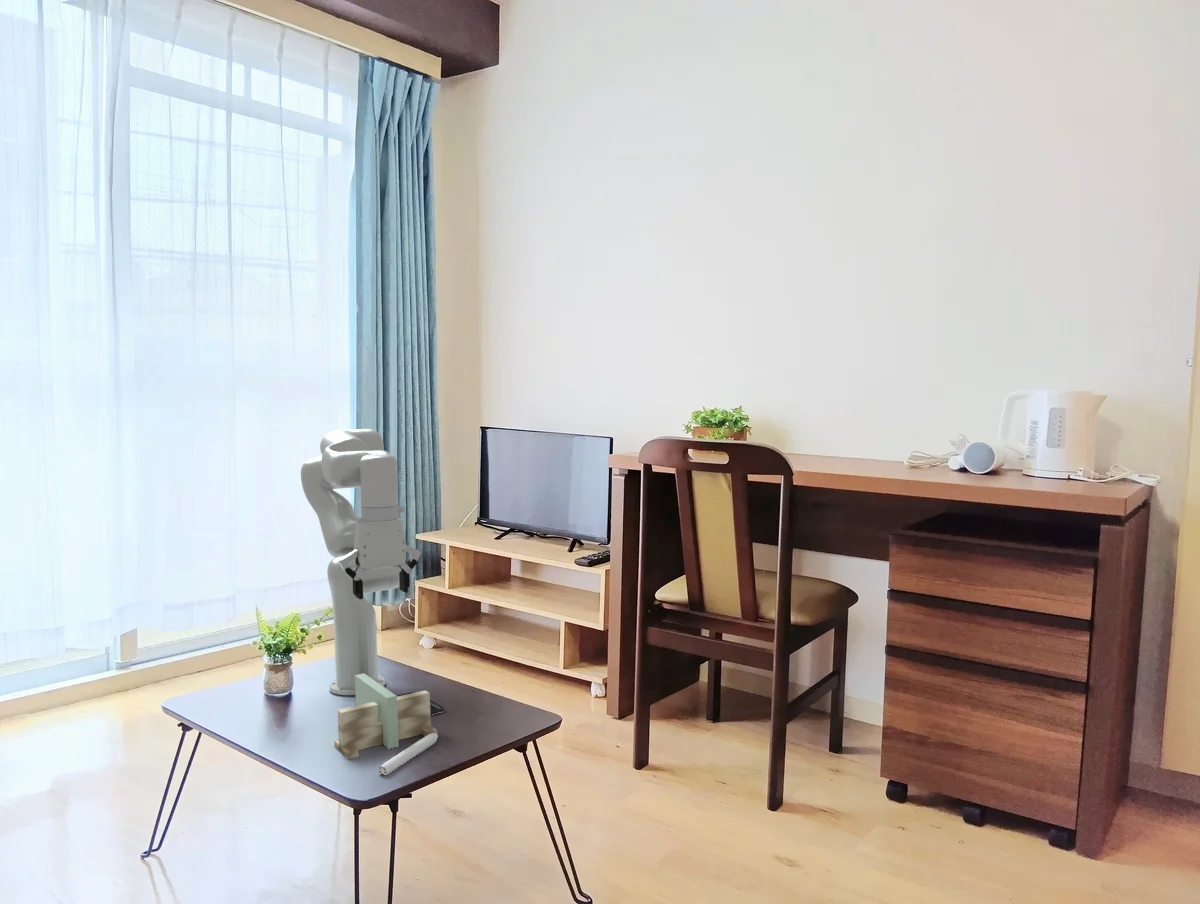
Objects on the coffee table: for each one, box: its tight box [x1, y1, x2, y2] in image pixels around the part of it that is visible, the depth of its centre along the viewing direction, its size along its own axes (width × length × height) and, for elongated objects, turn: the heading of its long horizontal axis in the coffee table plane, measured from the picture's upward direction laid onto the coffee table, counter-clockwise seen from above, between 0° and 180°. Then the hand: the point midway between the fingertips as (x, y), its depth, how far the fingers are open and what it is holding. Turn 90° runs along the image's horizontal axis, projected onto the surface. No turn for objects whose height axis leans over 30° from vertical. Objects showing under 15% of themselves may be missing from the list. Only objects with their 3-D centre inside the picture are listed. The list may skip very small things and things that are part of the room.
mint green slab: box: [355, 673, 399, 750], centre depth 174 cm, size 18×2×10 cm, turn 35°
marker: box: [377, 733, 439, 776], centre depth 163 cm, size 18×2×2 cm, turn 158°
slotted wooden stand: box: [333, 690, 438, 760], centre depth 171 cm, size 18×8×8 cm, turn 125°
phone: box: [396, 691, 445, 715], centre depth 190 cm, size 8×1×15 cm
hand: (381, 594), depth 183 cm, fingers open, 9 cm apart
